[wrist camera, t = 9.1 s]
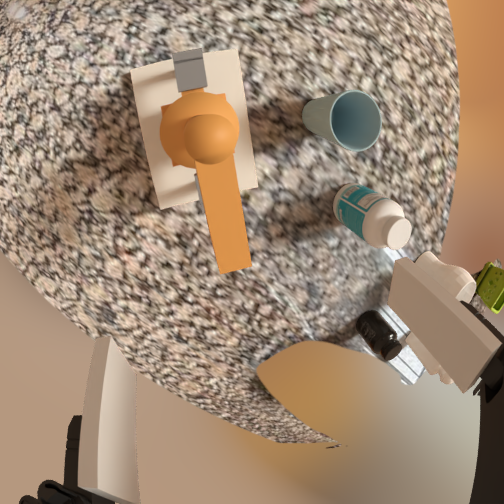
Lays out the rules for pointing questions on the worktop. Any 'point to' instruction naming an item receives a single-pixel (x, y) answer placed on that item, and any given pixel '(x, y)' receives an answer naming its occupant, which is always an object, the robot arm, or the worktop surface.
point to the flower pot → (491, 287)
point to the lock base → (169, 90)
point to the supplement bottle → (378, 335)
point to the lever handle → (210, 167)
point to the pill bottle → (372, 216)
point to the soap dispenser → (427, 358)
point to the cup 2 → (448, 276)
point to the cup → (344, 119)
